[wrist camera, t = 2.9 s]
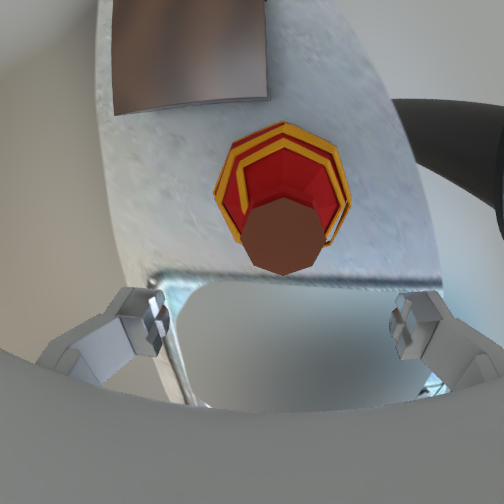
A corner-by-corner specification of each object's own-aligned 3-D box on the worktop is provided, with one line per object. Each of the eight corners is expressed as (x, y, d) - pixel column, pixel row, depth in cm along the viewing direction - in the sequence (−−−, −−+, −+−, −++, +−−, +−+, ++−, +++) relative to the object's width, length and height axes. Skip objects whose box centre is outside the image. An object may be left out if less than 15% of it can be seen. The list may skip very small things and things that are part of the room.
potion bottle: (207, 173, 27) (142, 240, 14) (280, 97, 23) (281, 81, 10) (282, 239, 30) (282, 346, 17) (355, 174, 26) (422, 244, 13)
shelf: (266, -8, 17) (261, -39, 11) (270, 100, 23) (267, 97, 17) (147, 10, 18) (113, -9, 12) (150, 111, 24) (114, 116, 18)
